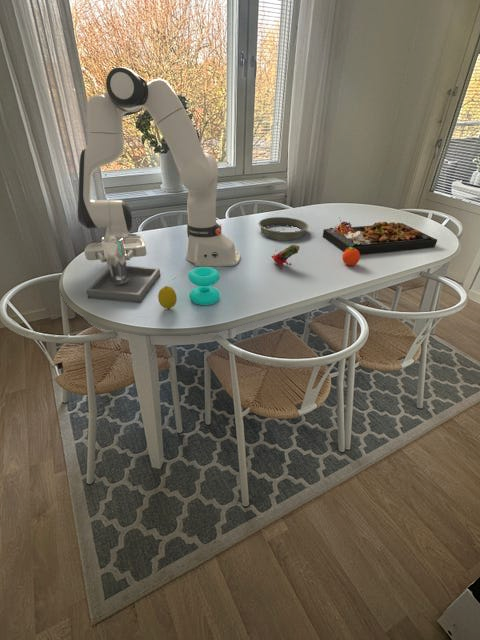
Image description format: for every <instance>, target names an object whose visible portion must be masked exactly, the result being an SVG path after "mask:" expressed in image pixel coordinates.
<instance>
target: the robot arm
mask: <svg viewBox="0 0 480 640" xmlns="http://www.w3.org/2000/svg"><path fill="white" fill-rule="evenodd" d="M105 88H106V93H104V94H95V95H93V96H91V97H90V98H89V99H88V101H87V111H86V112H87V113H86V116H87V117H86V118H87V120H86V121H87V130H88V131H87V132H88V142H87V146H86V148H84V149H83V150H81V152H80V157H79V165H78V166H79V167H78V168H79V169H78V199H77V207H76V217H77V220H78V223H80V225H81V226H84V228H86V229H89V230H90V229H99V228H107V229H106V232H105V236H104V237H106V236H110V235H119V236H122V238H123V242H124V245H125V250H126V261H131V259H132V258H135V257H139V258H140V257H145V256H147V249H146V247H147V246H146V243H145V241H144V239H142V237H141V234H138V233H130V231H131V229H132V227H133V224H132V223H133V217H132V211H131V208H130V206H129V204H127V202H126V201H124V200H123V199H93V198H92V182H93V180H92V179H93V173H94V172H95V171H96V170H98V169H99V168H101V167H104V166H106V165H110V164H112V163H114V162H115V161H117V160H119V159H120V158H121V157H122V155H123V153H124V150H125V148H124V147H125V142H124V140H125V139H124V130H123V128H124V127H123V118H124V117H127V116H129V115H130V116H131V115H134V114H137V113H139V112H141V111H142V110H143V109H144V110H145V111H147V112H148V114H149V115H150V116H151V118H152V120H153V122H154V123H155V125H156V127H157V128H158V130H159V133H160V134H161V135H162V138H163V139H164V141H165V143H166V145H167V147H168V149H169V151H170V153H171V155H172V159H173V160H174V163H175V166H176V168H177V170H178V174H179V177H180V181H181V183H182V185H183V186H184V188H186V189H187V190H188V195H187V201H186V208H187V224H186V233H187V237H188V241H187V250H186V251H187V252H186V256H185V257H186V260H187V261H188V262H191V263H192V264H194V265H195V266H196V267H234V266H236V265H237V264H239V263H240V260H241V253H240V252H239V251H238V250H236V247H235V243H234V241H233V240H232V239H230V238H229V237H227V236H226V235H225V234H224V233H222V224H218V223H217V193H218V176H219V175H218V172H219V165H218V162H217V159H216V158H215V157H214V156H213V155H212V154H211V153H209V152H205V151H204V149H203V147H202V145H201V142H200V138H199V137H198V133H197V129H196V128H195V125H194V124H193V122H192V120H191V118H190V116H189V115H188V112H187V111H186V109H185V107H184V104H183V103H182V101H181V100H180V98H179V96H178V95H177V93H176V92H175V90H174V89H173V88H172V87H171V84H169V82H168V81H167V80H165V79H164V78H163V79H162V78H156V79H153V80H151V81H148V82H147V80H146V79H145V78H143V77H142V76H140V75H139V74H137V73H136V72H135V71H134V70H132V69H131V68H128V67H125V66H117V67H114V68H112V69H111V70H110V71H109V72H108V74H107V76H106V79H105ZM84 256H85V260H87V261H98V260H99V261H100V262H101V263H107V262H106V259H105V256H104V253H103V247H102V242H94V243H89V244H87V245H86V247H85V249H84Z"/></svg>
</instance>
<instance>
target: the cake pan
mask: <svg viewBox="0 0 480 640" xmlns="http://www.w3.org/2000/svg"><path fill="white" fill-rule="evenodd" d="M257 224H258V226H259V227H260V231H261V234H262V235H263V234H264V235H263V236H265V237H267V238H269V237H270V239H273V238H274V239H273V240H282V241H286V240H287V241H288V240H289V241H292V240H291V239H293V240H297V238H298V239H300V237H301V238H303V237H304V236H305V232H306V230H308V228H309V224H308V223H307V222H306V221H304V220H301V219H299V218H298V219H297V218H293V217H286V216H285V217H284V216H272V217H271V216H270V217H267V218H262V219H261V220H259V221H258V223H257ZM273 225H288V226H287V227H289V226H293V227H297V228H299V229H301V230H300V231H295V232H280V231H273V230H274V229H268V227H267V226H270V227H274V226H273ZM264 227H266V228H264Z"/></svg>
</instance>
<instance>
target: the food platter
mask: <svg viewBox="0 0 480 640" xmlns="http://www.w3.org/2000/svg"><path fill="white" fill-rule="evenodd" d="M338 218H339V221H340V224H339V223H336V225H334V227H329V228H323V231H322V238H323V239H325V240H326V241H328V242H329V243H330V244H332V245H333V246H334V247H336V248H337V249H339V250H340V251H341V252H343V253H344V251H345V250H347V249H349V248H348V247H352V248H355V249H357V250H358V251H359V253H360V256H366V255H367V256H368V255H376V254H384V253H393V252H394V253H396V252H403V251H405V252H406V251H413V250H424V249H434V248H436V245H437V243H438V239H437V238H434V237H433V236H430V235H429V234H426V233H424V232H422V231H419V230H418V229H415V228H413V227H411V226H410V225H407V224H405V223H402V222H397V223H396V222H395V221H393V222H392V221H391V222H389V223H388V222H387V221H378V222H375V223H373V224H372V225H363V226H352V223H351V222H347V221H344V220H343V221H341V218H340V216H339V217H338ZM346 248H347V249H346Z"/></svg>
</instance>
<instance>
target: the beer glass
mask: <svg viewBox="0 0 480 640" xmlns="http://www.w3.org/2000/svg"><path fill="white" fill-rule="evenodd" d="M101 243H102V247H103V253H104V256H105V259H106V262H105V263H106V264H107V267H108V269H110V273H111V282H112V283H114V284H122V283H126V282H127V281H129V276H128V274H127V270H126V266H127V260H126V250H125V245H124V242H123V238H122V236H119V235H110V236H106V237H105V236H104V237H102V238H101Z"/></svg>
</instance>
